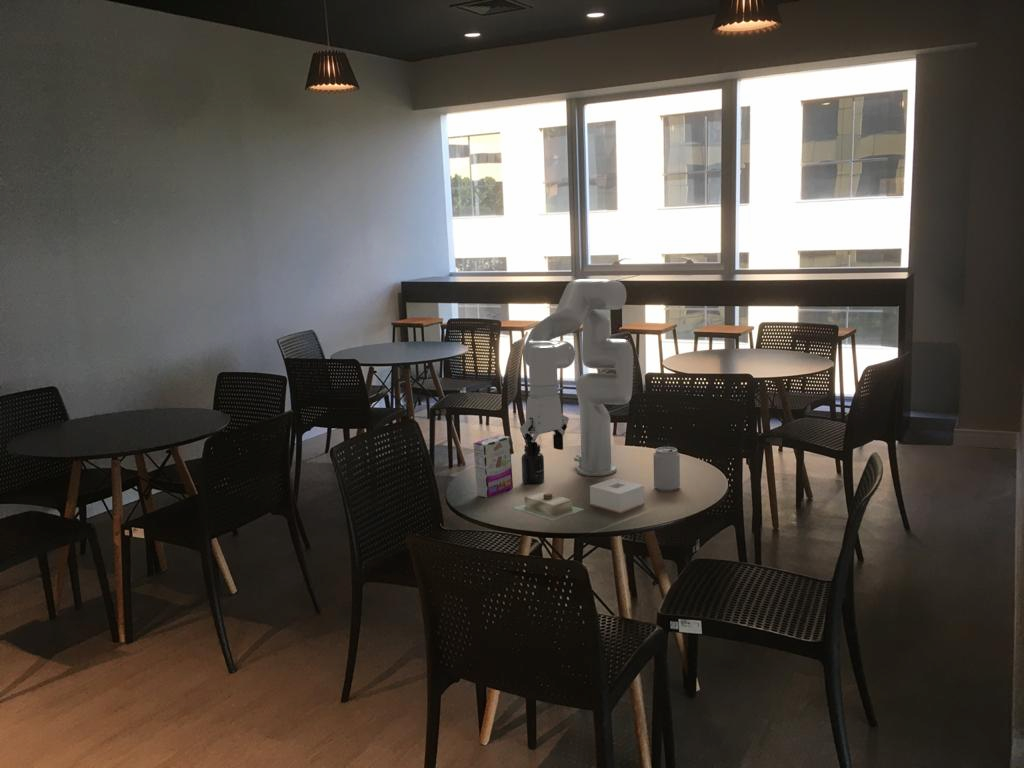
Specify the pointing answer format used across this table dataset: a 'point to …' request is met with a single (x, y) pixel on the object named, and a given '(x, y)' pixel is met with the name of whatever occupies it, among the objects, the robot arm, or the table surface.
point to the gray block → (617, 495)
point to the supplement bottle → (532, 468)
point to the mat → (547, 516)
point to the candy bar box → (493, 466)
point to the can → (666, 469)
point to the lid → (548, 503)
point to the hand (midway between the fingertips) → (545, 452)
